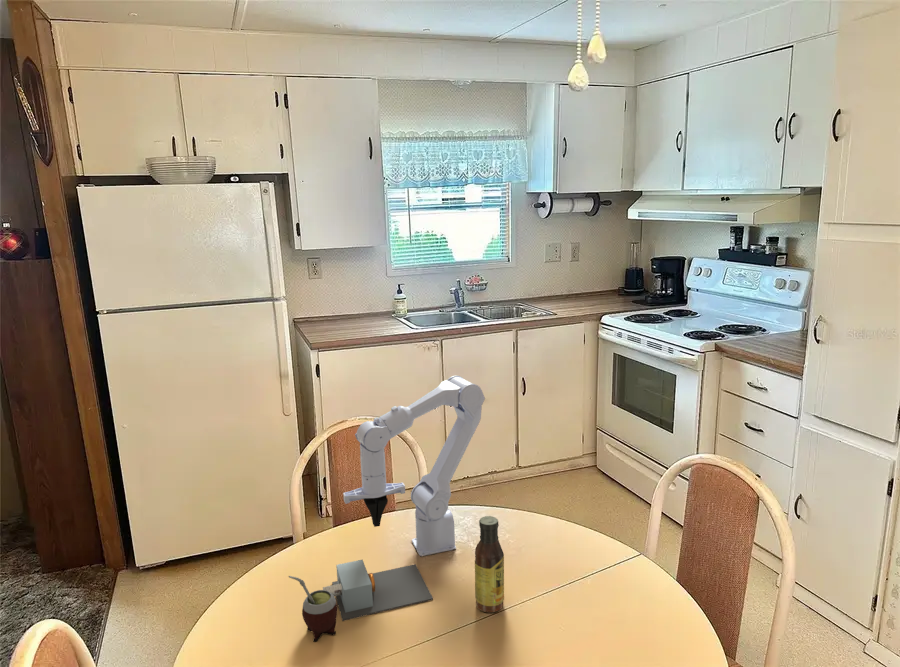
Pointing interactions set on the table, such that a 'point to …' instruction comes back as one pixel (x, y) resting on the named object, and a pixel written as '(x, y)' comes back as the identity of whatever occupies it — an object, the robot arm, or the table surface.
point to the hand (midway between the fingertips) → (376, 524)
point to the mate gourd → (319, 611)
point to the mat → (392, 592)
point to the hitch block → (354, 585)
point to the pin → (337, 588)
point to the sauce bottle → (489, 567)
